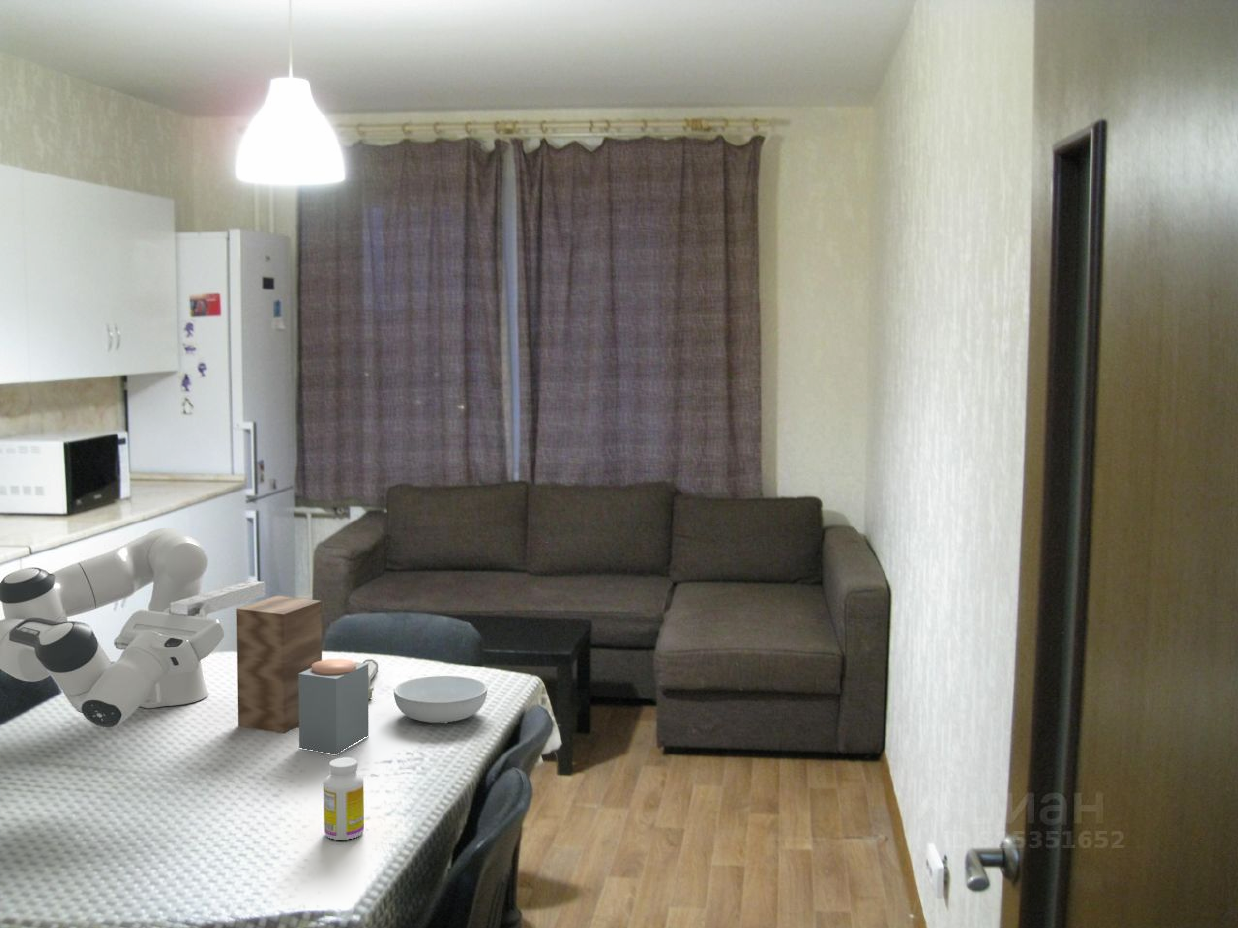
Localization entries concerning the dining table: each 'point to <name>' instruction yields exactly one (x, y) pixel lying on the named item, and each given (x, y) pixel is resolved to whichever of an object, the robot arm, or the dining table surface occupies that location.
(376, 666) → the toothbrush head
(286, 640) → the stand
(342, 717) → the low block
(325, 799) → the supplement bottle
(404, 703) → the serving bowl
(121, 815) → the dining table surface
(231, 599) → the white bar
